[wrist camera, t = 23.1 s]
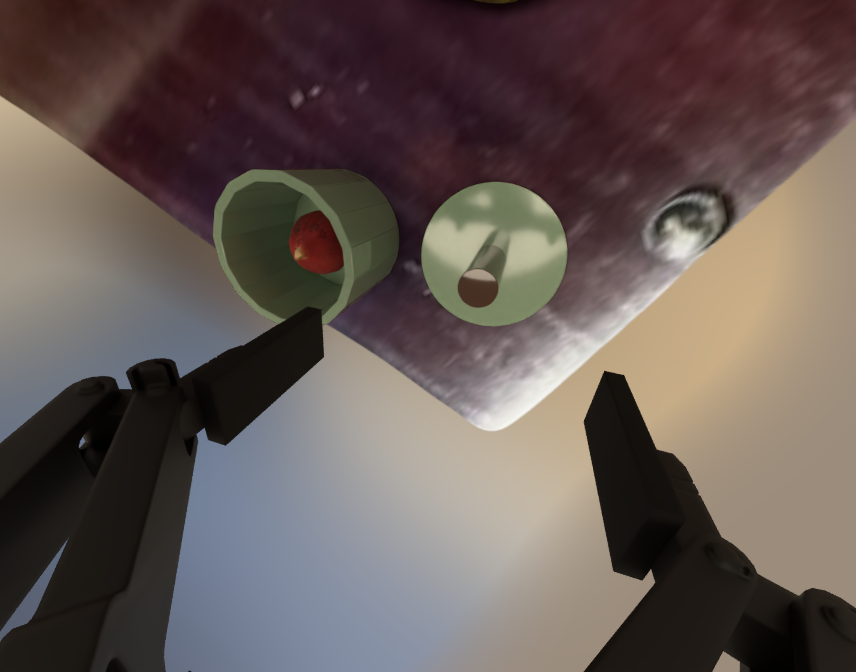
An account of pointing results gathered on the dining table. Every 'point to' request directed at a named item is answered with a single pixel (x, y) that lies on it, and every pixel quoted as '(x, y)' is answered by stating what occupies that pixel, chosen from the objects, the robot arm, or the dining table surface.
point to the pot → (271, 228)
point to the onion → (316, 244)
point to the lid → (494, 253)
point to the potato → (496, 1)
